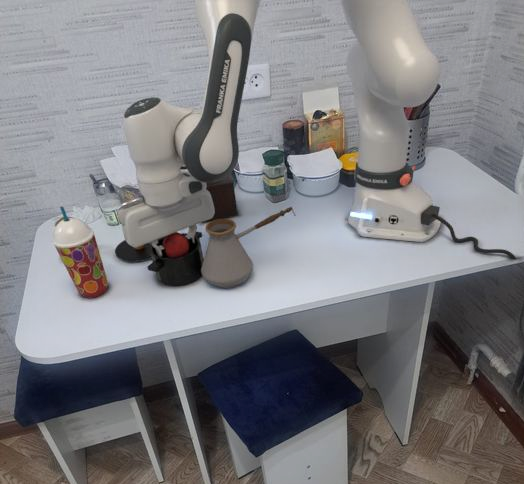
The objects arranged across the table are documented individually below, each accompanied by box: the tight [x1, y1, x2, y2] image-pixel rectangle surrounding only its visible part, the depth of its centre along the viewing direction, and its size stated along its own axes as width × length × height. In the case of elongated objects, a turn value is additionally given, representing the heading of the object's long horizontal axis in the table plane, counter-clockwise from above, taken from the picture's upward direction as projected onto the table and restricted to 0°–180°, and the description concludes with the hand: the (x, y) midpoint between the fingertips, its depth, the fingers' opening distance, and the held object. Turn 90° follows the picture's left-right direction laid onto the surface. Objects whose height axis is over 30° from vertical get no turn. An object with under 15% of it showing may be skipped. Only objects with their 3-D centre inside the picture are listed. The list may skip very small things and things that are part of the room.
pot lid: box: [114, 239, 158, 262], centre depth 116 cm, size 12×12×5 cm
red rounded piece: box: [163, 231, 189, 258], centre depth 104 cm, size 6×6×8 cm
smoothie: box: [51, 206, 109, 299], centre depth 99 cm, size 8×8×20 cm
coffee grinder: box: [180, 165, 239, 224], centre depth 124 cm, size 16×11×18 cm
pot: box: [147, 230, 204, 288], centre depth 106 cm, size 11×17×7 cm
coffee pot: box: [201, 206, 296, 289], centre depth 100 cm, size 21×12×15 cm, turn 96°
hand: (176, 249), depth 104 cm, fingers closed on red rounded piece, 6 cm apart
